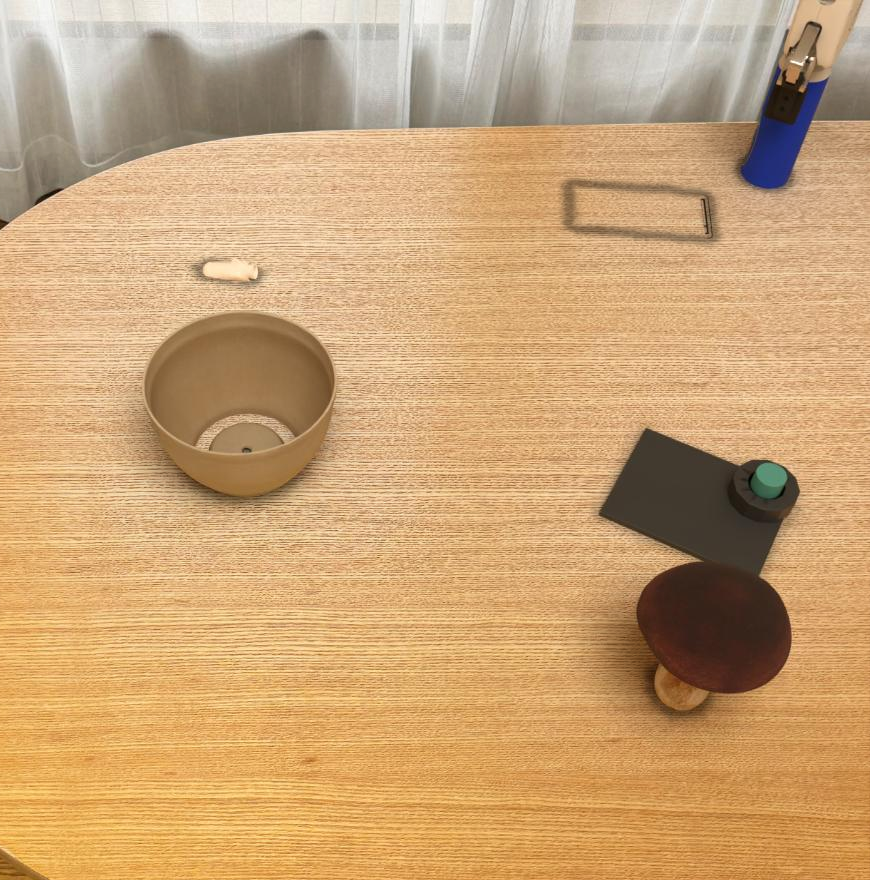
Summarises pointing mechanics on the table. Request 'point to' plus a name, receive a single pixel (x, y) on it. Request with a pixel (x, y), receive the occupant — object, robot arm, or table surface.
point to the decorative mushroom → (712, 631)
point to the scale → (698, 502)
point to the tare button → (768, 480)
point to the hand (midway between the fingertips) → (793, 95)
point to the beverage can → (782, 135)
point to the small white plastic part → (231, 270)
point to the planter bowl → (240, 398)
